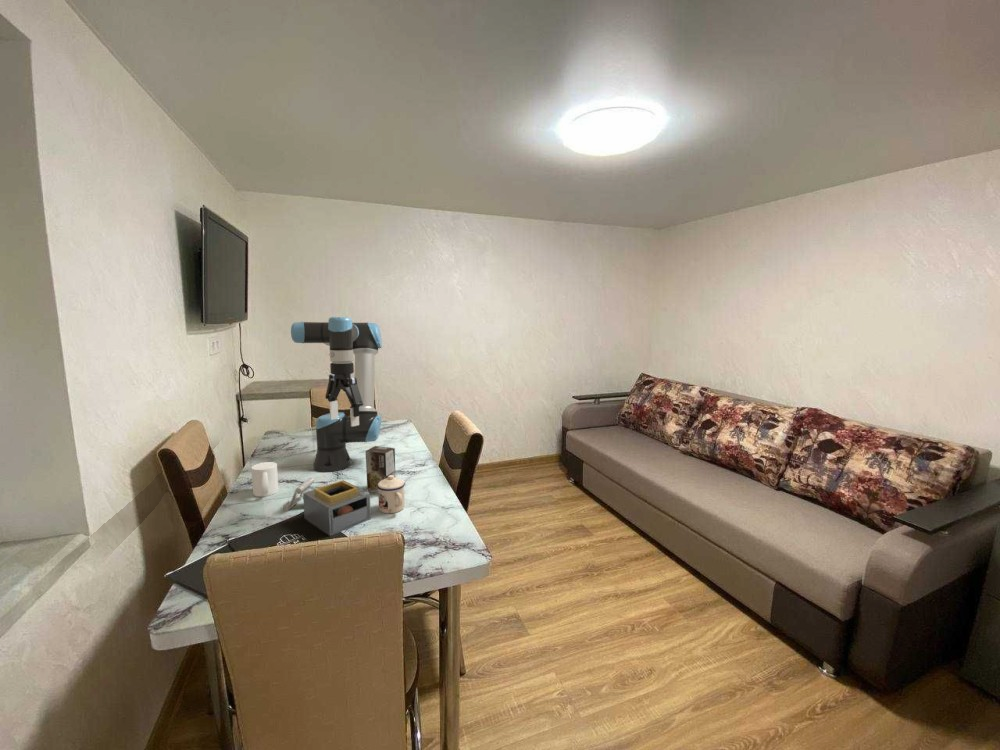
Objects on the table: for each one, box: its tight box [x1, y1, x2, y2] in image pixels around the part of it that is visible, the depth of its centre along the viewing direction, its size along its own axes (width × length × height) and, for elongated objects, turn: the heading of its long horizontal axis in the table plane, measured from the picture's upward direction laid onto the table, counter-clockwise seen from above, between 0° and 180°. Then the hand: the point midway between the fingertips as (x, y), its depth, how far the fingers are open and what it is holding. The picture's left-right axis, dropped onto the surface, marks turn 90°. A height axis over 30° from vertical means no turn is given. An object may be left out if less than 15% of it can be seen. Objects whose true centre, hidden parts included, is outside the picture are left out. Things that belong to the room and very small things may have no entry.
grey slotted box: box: [302, 480, 372, 537], centre depth 133 cm, size 16×14×10 cm
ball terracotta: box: [337, 505, 353, 516], centre depth 131 cm, size 5×5×5 cm
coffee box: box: [365, 445, 397, 494], centre depth 156 cm, size 9×6×16 cm
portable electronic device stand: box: [282, 477, 315, 512], centre depth 143 cm, size 9×8×8 cm
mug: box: [250, 461, 279, 497], centre depth 152 cm, size 8×10×12 cm
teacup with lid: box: [377, 475, 406, 514], centre depth 141 cm, size 12×9×12 cm
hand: (344, 422), depth 145 cm, fingers open, 13 cm apart
